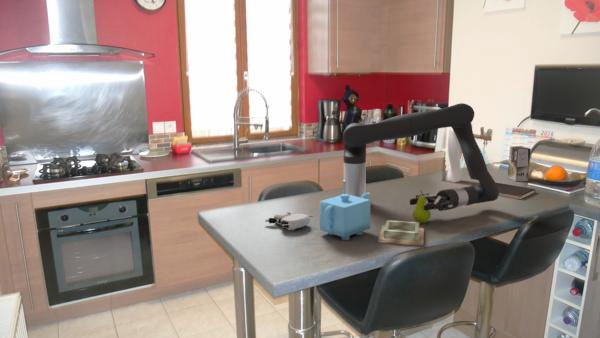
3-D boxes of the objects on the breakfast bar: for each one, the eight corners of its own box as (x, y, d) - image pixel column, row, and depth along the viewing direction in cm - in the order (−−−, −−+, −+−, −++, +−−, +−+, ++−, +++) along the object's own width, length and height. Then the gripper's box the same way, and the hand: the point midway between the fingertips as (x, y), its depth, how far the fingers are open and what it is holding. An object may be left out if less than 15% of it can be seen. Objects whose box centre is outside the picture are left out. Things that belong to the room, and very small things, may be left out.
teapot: (338, 245, 144) (338, 203, 141) (314, 236, 152) (313, 197, 149) (381, 228, 158) (382, 190, 155) (357, 221, 166) (357, 185, 163)
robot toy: (263, 228, 164) (291, 235, 153) (262, 216, 163) (290, 222, 152) (287, 220, 172) (316, 226, 161) (286, 208, 171) (315, 213, 161)
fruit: (430, 225, 160) (432, 193, 157) (412, 225, 161) (413, 192, 158) (429, 220, 166) (430, 188, 163) (412, 219, 167) (413, 188, 165)
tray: (378, 242, 145) (378, 231, 145) (382, 227, 158) (382, 218, 158) (423, 245, 141) (423, 235, 141) (423, 230, 155) (424, 221, 154)
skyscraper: (449, 178, 230) (452, 124, 224) (464, 181, 224) (468, 125, 218) (441, 181, 225) (443, 125, 219) (456, 184, 219) (459, 126, 213)
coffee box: (528, 181, 220) (531, 148, 216) (515, 181, 220) (517, 149, 217) (519, 177, 229) (522, 145, 225) (507, 177, 229) (509, 146, 226)
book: (519, 201, 189) (520, 195, 189) (468, 191, 206) (468, 186, 206) (535, 193, 200) (535, 188, 199) (484, 185, 217) (485, 180, 216)
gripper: (439, 184, 173) (404, 190, 167) (467, 193, 161) (431, 199, 154) (438, 203, 175) (404, 209, 168) (466, 213, 162) (430, 220, 155)
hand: (417, 204), depth 161 cm, fingers open, 7 cm apart
